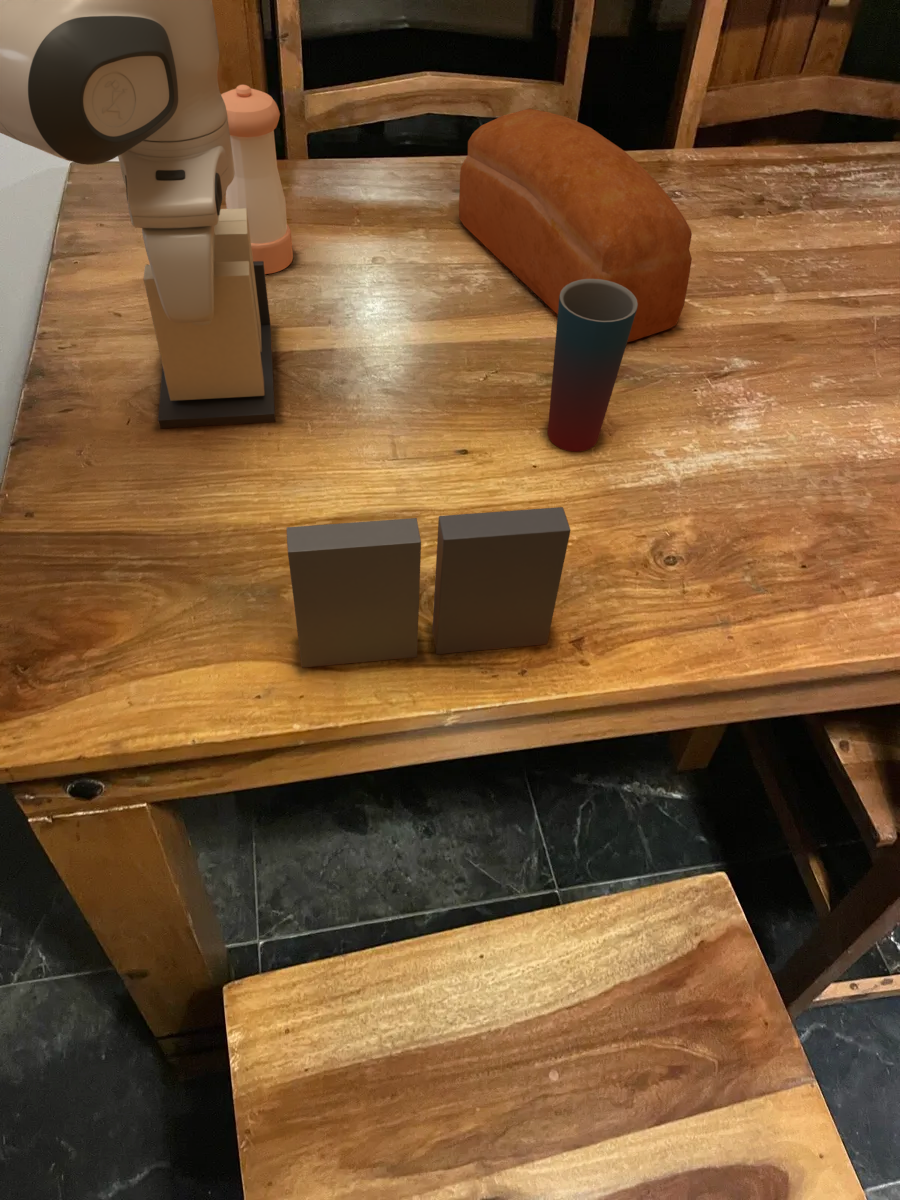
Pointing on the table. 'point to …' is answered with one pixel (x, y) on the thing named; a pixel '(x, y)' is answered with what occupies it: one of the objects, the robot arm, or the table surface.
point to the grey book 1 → (355, 590)
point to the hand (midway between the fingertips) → (202, 309)
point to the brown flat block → (212, 341)
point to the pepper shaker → (258, 175)
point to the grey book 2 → (497, 578)
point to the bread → (575, 214)
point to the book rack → (258, 409)
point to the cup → (587, 359)
